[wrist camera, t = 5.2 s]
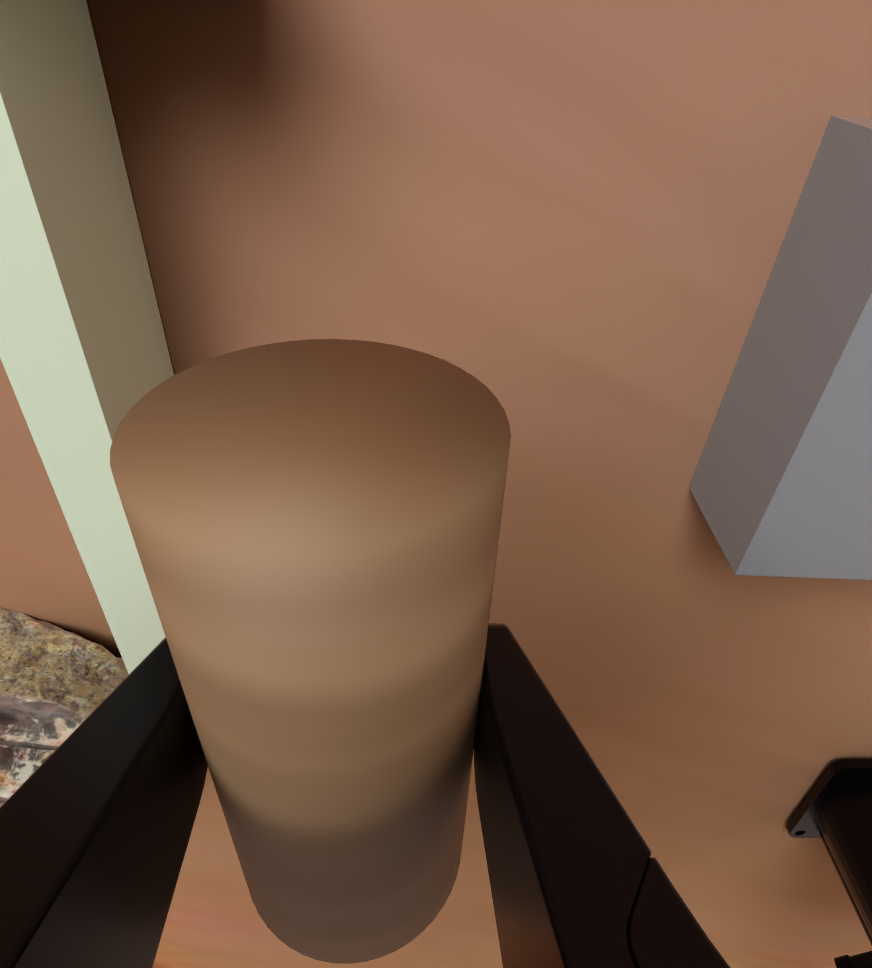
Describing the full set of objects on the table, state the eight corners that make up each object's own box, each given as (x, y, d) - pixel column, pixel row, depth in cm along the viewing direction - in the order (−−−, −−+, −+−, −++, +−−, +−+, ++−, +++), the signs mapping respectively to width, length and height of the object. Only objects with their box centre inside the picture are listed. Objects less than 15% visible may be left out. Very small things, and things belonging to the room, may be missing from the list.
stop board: (323, 573, 22) (307, 674, 19) (171, 572, 22) (128, 674, 19) (252, -131, 11) (189, -175, 8) (-43, -145, 11) (-224, -194, 8)
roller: (466, 749, 12) (455, 976, 9) (279, 732, 12) (212, 949, 10) (510, 350, 7) (513, 574, 5) (200, 330, 7) (19, 533, 5)
